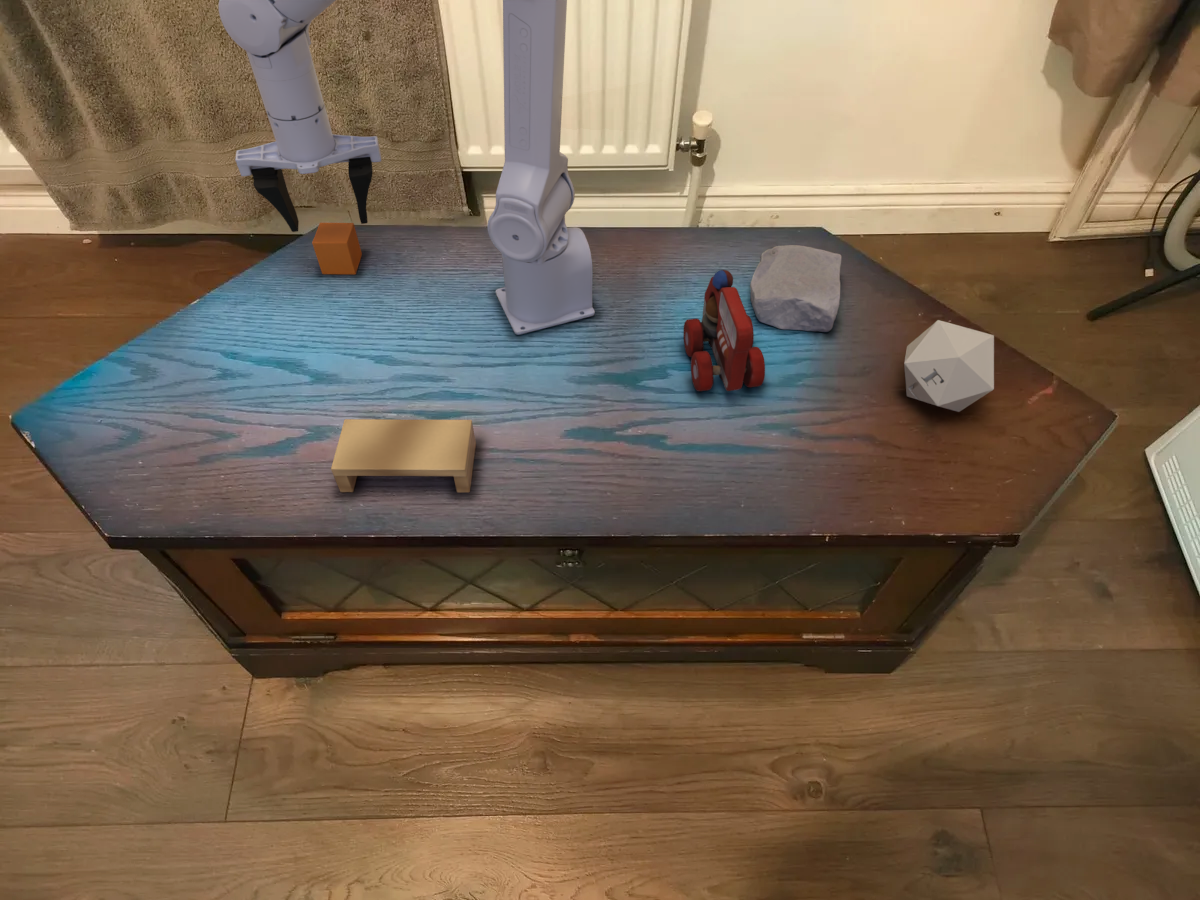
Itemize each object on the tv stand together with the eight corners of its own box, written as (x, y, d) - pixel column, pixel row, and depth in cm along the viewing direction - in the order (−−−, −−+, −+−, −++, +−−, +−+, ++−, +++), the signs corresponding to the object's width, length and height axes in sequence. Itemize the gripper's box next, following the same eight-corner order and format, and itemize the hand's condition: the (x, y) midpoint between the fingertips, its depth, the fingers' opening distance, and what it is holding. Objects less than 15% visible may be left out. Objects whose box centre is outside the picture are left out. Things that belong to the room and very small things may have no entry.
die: (878, 368, 84) (889, 349, 74) (951, 318, 83) (972, 293, 73) (927, 432, 82) (946, 421, 73) (1002, 382, 81) (1031, 365, 71)
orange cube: (362, 254, 95) (353, 222, 91) (355, 274, 92) (346, 243, 89) (329, 253, 95) (319, 222, 91) (322, 274, 92) (311, 242, 89)
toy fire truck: (738, 324, 87) (753, 246, 79) (765, 404, 79) (785, 328, 71) (677, 328, 87) (686, 250, 79) (698, 409, 79) (711, 333, 71)
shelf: (476, 443, 76) (472, 419, 73) (469, 492, 72) (465, 469, 69) (353, 442, 76) (344, 418, 73) (340, 492, 72) (330, 469, 69)
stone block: (748, 336, 88) (839, 336, 86) (746, 302, 85) (841, 300, 82) (755, 275, 96) (840, 273, 93) (754, 242, 93) (842, 238, 90)
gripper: (216, 134, 75) (262, 251, 85) (370, 119, 77) (396, 235, 87) (222, 99, 79) (265, 214, 90) (367, 86, 81) (392, 200, 92)
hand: (330, 222), depth 89 cm, fingers open, 7 cm apart
